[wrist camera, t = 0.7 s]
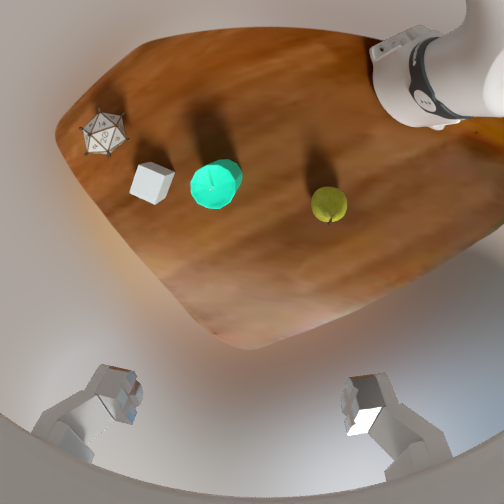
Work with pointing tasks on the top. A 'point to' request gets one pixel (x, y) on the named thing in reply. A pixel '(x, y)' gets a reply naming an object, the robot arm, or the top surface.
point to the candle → (216, 183)
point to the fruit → (328, 204)
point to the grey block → (151, 182)
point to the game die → (104, 133)
